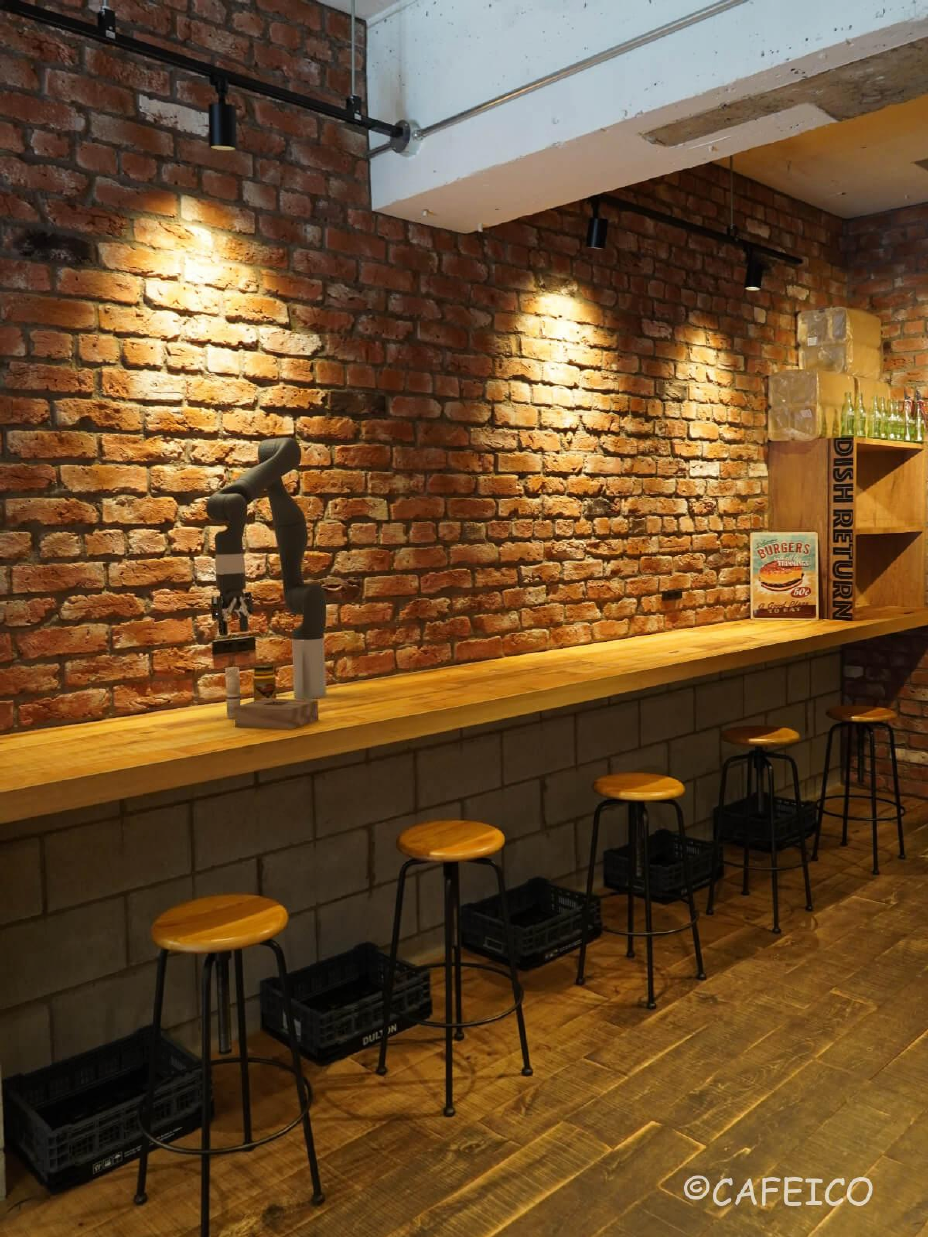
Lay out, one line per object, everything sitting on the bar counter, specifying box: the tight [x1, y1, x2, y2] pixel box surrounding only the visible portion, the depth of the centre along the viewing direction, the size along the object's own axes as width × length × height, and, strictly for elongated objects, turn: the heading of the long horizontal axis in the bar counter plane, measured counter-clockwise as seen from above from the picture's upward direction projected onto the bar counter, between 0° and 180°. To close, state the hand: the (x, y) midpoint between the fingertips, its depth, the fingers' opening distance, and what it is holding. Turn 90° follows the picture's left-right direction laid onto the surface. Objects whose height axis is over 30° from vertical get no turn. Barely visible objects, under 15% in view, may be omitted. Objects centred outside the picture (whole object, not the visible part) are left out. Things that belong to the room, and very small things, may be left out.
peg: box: [224, 666, 242, 719], centre depth 275 cm, size 4×4×13 cm
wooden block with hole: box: [234, 698, 319, 730], centre depth 265 cm, size 14×16×5 cm
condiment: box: [252, 664, 277, 701], centre depth 287 cm, size 7×8×12 cm
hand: (233, 633), depth 272 cm, fingers open, 8 cm apart
